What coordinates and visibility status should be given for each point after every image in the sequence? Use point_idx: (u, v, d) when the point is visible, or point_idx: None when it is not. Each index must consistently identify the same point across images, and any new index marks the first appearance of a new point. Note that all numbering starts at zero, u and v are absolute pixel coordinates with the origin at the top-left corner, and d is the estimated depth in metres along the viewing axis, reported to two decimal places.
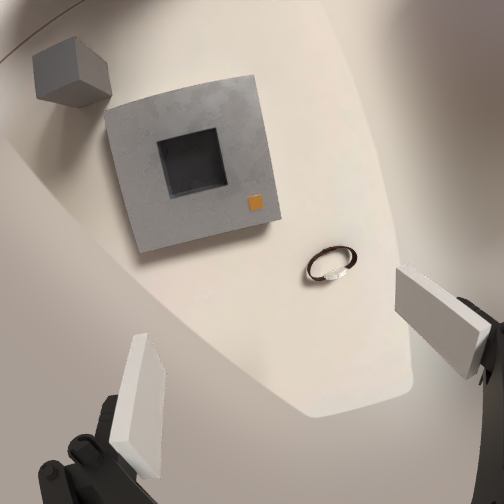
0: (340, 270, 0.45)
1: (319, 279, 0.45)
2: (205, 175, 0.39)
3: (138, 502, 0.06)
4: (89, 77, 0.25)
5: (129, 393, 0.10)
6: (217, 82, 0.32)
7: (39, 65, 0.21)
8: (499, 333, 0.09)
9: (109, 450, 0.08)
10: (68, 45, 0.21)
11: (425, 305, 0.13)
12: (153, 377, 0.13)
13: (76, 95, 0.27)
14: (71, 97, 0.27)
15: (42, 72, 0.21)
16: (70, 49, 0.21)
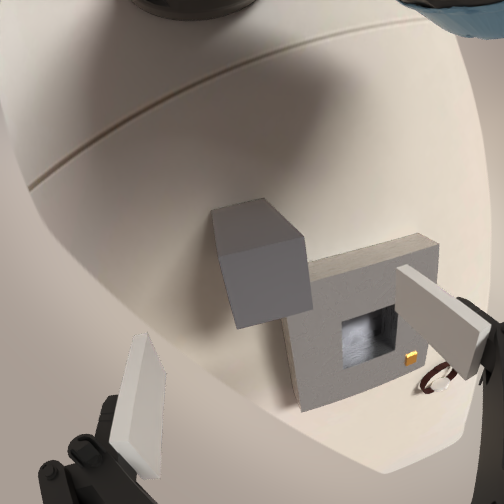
0: (443, 381, 0.43)
1: (429, 391, 0.42)
2: (365, 331, 0.36)
3: (138, 502, 0.06)
4: None
5: (129, 393, 0.10)
6: (409, 255, 0.29)
7: (235, 276, 0.18)
8: (499, 333, 0.09)
9: (109, 450, 0.08)
10: (293, 251, 0.18)
11: (425, 305, 0.13)
12: (153, 377, 0.13)
13: None
14: None
15: (245, 291, 0.18)
16: (297, 260, 0.18)
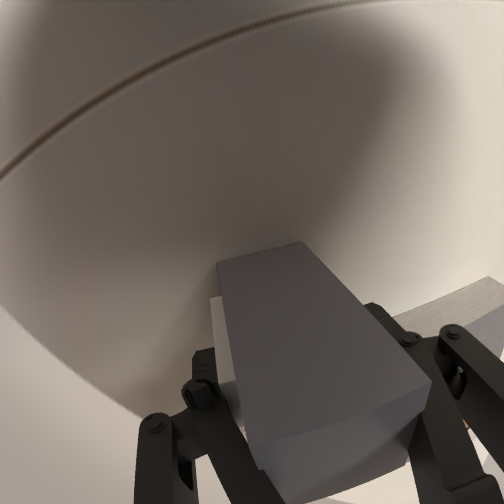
0: None
1: None
2: None
3: (239, 450, 0.08)
4: None
5: (225, 342, 0.12)
6: (488, 314, 0.18)
7: (285, 466, 0.07)
8: None
9: None
10: (406, 409, 0.07)
11: None
12: None
13: None
14: None
15: (300, 477, 0.07)
16: (408, 418, 0.07)
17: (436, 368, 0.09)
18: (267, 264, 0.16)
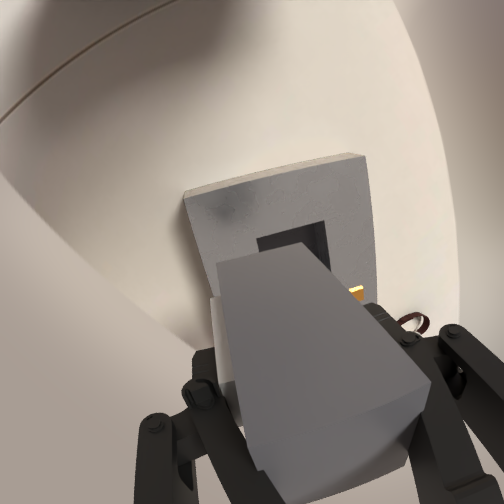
0: None
1: None
2: None
3: (239, 450, 0.08)
4: None
5: (225, 342, 0.12)
6: (327, 165, 0.28)
7: (284, 466, 0.07)
8: None
9: None
10: (405, 410, 0.07)
11: None
12: None
13: None
14: None
15: (299, 478, 0.07)
16: (407, 419, 0.07)
17: (436, 368, 0.09)
18: (266, 264, 0.16)
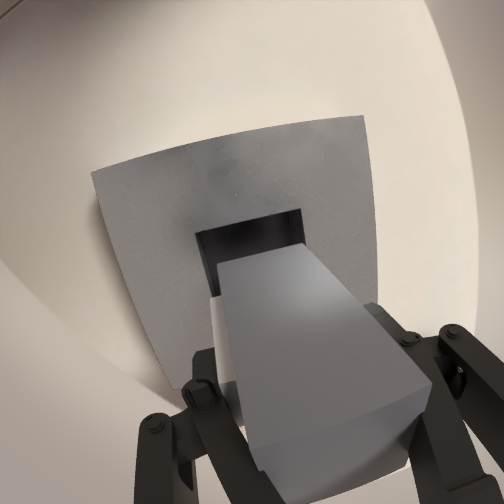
0: None
1: None
2: None
3: (239, 450, 0.08)
4: None
5: (225, 342, 0.12)
6: (305, 124, 0.18)
7: (285, 467, 0.07)
8: None
9: None
10: (406, 411, 0.07)
11: None
12: None
13: None
14: None
15: (300, 479, 0.07)
16: (408, 420, 0.07)
17: (436, 368, 0.09)
18: (267, 265, 0.16)
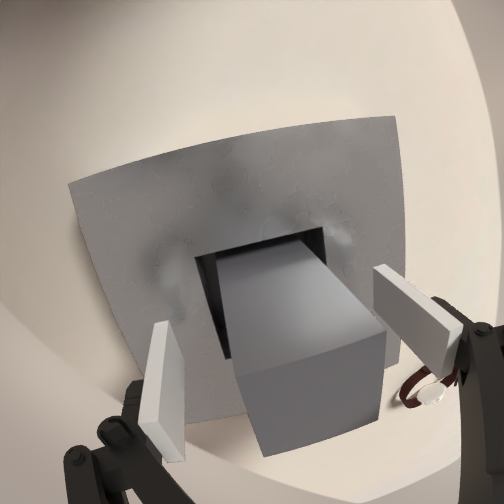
0: (437, 388, 0.28)
1: (413, 405, 0.28)
2: None
3: (164, 486, 0.07)
4: None
5: (155, 376, 0.11)
6: (329, 125, 0.15)
7: (266, 401, 0.09)
8: (472, 334, 0.09)
9: (136, 432, 0.09)
10: (366, 355, 0.09)
11: (400, 304, 0.13)
12: (174, 363, 0.14)
13: None
14: None
15: (280, 417, 0.10)
16: (370, 365, 0.10)
17: (502, 360, 0.08)
18: (258, 247, 0.18)
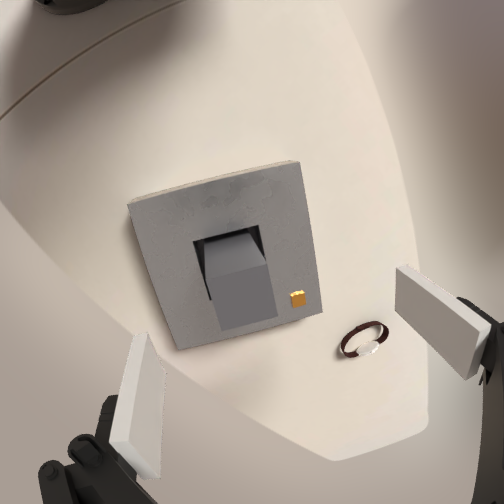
0: (372, 344, 0.43)
1: (352, 355, 0.43)
2: None
3: (138, 502, 0.06)
4: None
5: (129, 393, 0.10)
6: (259, 172, 0.31)
7: (219, 293, 0.25)
8: (499, 333, 0.09)
9: (109, 450, 0.08)
10: (260, 274, 0.25)
11: (425, 305, 0.13)
12: (153, 377, 0.13)
13: None
14: None
15: (226, 303, 0.25)
16: (263, 280, 0.25)
17: None
18: (226, 237, 0.34)
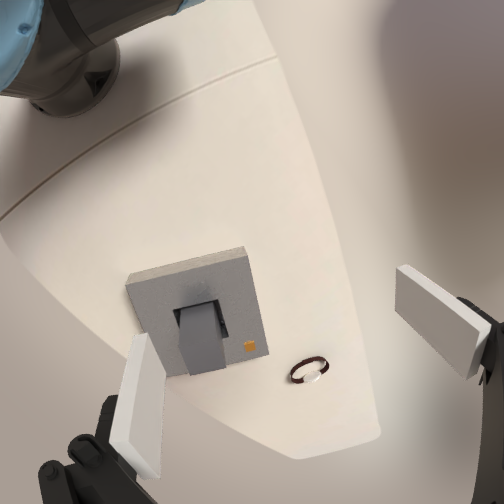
0: (315, 374, 0.57)
1: (299, 381, 0.56)
2: None
3: (138, 502, 0.06)
4: (222, 347, 0.42)
5: (129, 393, 0.10)
6: (217, 264, 0.43)
7: (187, 354, 0.38)
8: (499, 333, 0.09)
9: (109, 450, 0.08)
10: (212, 344, 0.38)
11: (425, 305, 0.13)
12: (153, 377, 0.13)
13: None
14: None
15: (192, 360, 0.38)
16: (215, 348, 0.38)
17: None
18: (197, 304, 0.47)
